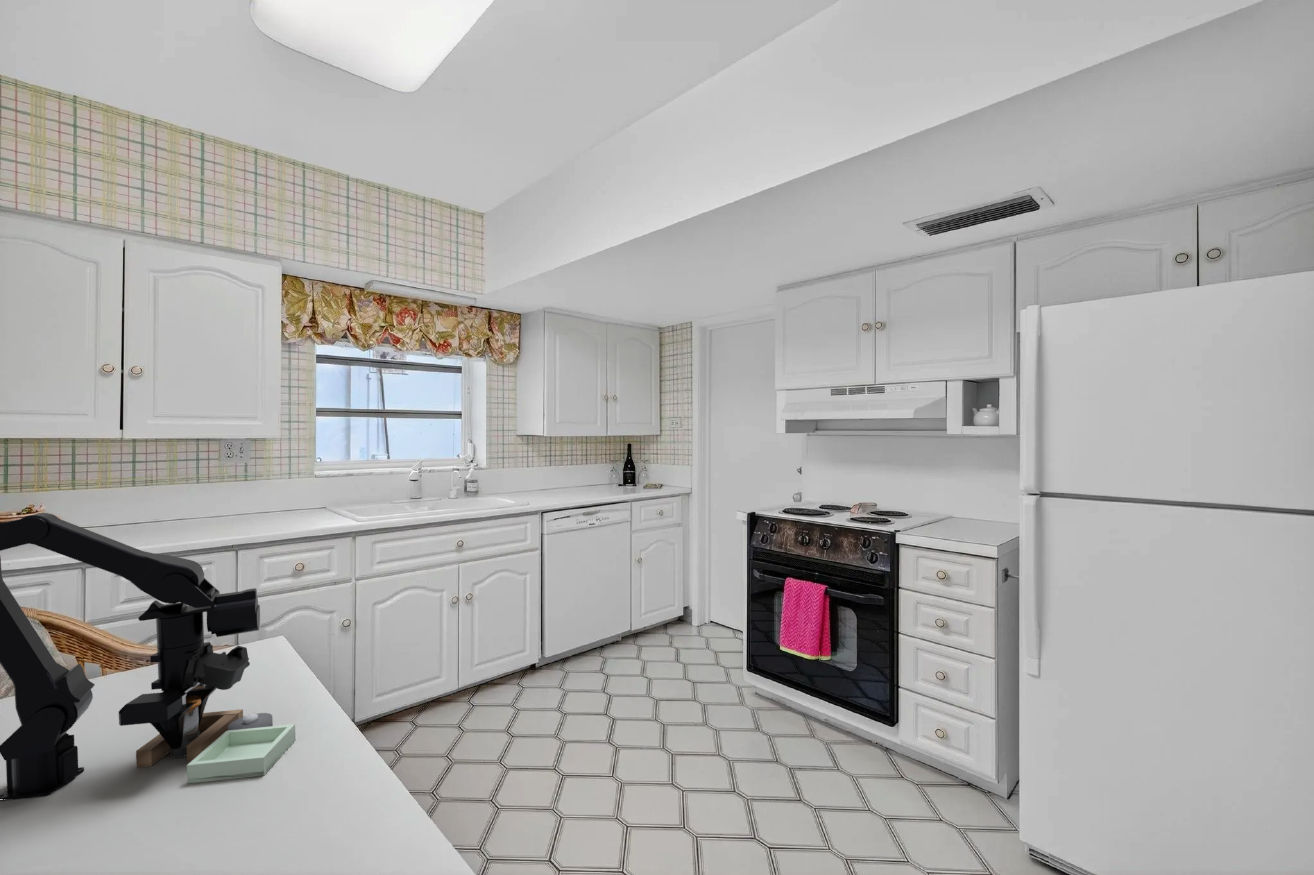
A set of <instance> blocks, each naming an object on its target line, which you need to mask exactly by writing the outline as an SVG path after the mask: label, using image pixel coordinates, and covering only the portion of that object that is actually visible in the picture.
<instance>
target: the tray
mask: <svg viewBox="0 0 1314 875" xmlns="http://www.w3.org/2000/svg"><path fill="white" fill-rule="evenodd" d="M296 738H297V737H296V723H291V724H284V725H273V726H270V727H260V728H249V729H239V730H228V731H226V732H225V733H223V734H222V735H221V736H220V737H219V738H218V739H217V740H215V741H214V742H213V743H212V744H211V745H210V746H208V747H207V748H206V749H205V750H204V751H203V752H202V753H200V754H199V755H198V756H197V757H196V758H195V759H193V760H192V761H191V762H188V764H186V778H187V779H186V780H187V781H186V784H196V783H197V784H198V783H203V782H204V783H207V782H214V781H222V780H223V781H224V780H233V779H242V778H243V779H244V778H252V777H253V778H254V777H260V776H265V775H266V774H267V773H268V771H270V769H271V768H272V767H273V766H274V765H275V764H276V763H277V762H278V760H280V758H282V756H283V755H284V754H285V753H286V752H287V750H288V749H289V748H290V747H291V746H292V745H293V744H294V743H295V741H296Z"/></svg>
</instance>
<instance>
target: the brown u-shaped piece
mask: <svg viewBox="0 0 1314 875" xmlns="http://www.w3.org/2000/svg"><path fill="white" fill-rule="evenodd" d="M242 717H244V709H243V708H242V709H230V710H221V711H219V710H218V711H211V712H203V715H202V719H201V722H200V725H199V733H201V734H199V736H198V737H197V738H196V739H195V740H193V741H192V742H191V743H190V744H188V745H187V756H186V763H190V762H191V761H192V760H193V759H195V758H196V757H197V756H198V755H199V754H200V753H202V752H203V751H204V750H205V749H206V748H207V747H208V746H210V745H211V744H212V743H213V742H214V741H215V740H217V739H218V738H219V737H220V736H221V735H222V734H223V733H225V732H226V731H228V726H229V724H230V723H232V722H233V721H235V720H237V719H239V718H242ZM135 751H136V752H135V756H136V757H135V758H136V759H135V761H136V763H135V764H136V768H145V767H152V766H154V765H155V764H156V763H157V762H159V761H160V760H161V759H163V758H164V757H165V756H166V755H167V754H168V753H169V754H170V746H169V745H168V743H167V742H166V741H165V740H164V738H163V737H162V736H161V735H160V733H159V734H157V735H156V736H154V737H153V738H152V739H151V740H149V741H148V742H146V743H145V744H143V745H142V746H141V747H140V748H138V749H137V750H135Z"/></svg>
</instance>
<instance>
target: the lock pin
mask: <svg viewBox="0 0 1314 875" xmlns="http://www.w3.org/2000/svg"><path fill="white" fill-rule="evenodd" d="M189 703H194V705H193V706H192V707H191V708H190V709H189V710H188V711H187V712H186V713H185V716H184V727H183V738H182V744H181V747H180V748H179V749H172V748H171V747H170V752H169V754H170V757H171V759H172V758H174V759H175V758H176V759H177V758H183V757H187V745H188V744H190V743H191V742H192V741H193V740H195V739H196V738H197V737H198V736H199V735H200V732H199V717H198V706H199V705H200V704H201V697H200V696H187V697H186V704H189Z"/></svg>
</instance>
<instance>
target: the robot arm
mask: <svg viewBox="0 0 1314 875" xmlns="http://www.w3.org/2000/svg"><path fill="white" fill-rule="evenodd" d="M27 544H28V545H29V544H30V545H34V546H38V547H40V548H42V549H46V550H48V551H51V552H53V553H57V554H60V555H62V556H65V557H68V558H70V559H73V560H76V561H79V562H82V563H84V564H87V565H89V566H92V567H95V568H97V569H100V570H103V571H105V572H109V573H111V574H114V575H116V576H119V577H121V578H124V579H125V580H127V581H128V582H130V583H131V584H133V585H134V586H135V587H136V588H138V589H139V590H140V591H141V592H143V593H144V594H147V595H149V596H150V597H152V598H154V599H156V600H153V602H151V604H150V605H149V607H148V608H147V609H146V610H144V612H143V613H141V614H140V615H139V616H138V619H137V620H138V621H140V622H144V621H151V620H155V621H156V622H155V624H156V650H157V652H156V653H153V654H152V655H150V657H149V659H150V664H151V663H152V664H153V663H157V676H158V678H157V679H156V680H154V681H153V682H151V684H150V686H151V688H150V689H151V690H153V691H154V690H161V692H153V693H152V692H151V693H150V692H149V693H141V694H140V695H139V696H137V697H135V698H134V699H132V700H130V701H128V702H127V703H126V704H124V705H123V707H121V709H119V711H118V725H119V726H120V727H123V726H133V725H143V724H144V725H145V724H150V725H152V727H153V728H154V729H155V730H156V731H157V732H158V733H159V734H160V735H161V736H162V737H163V738H164V740H165V741H166V742H167V743H168V745H169V746H170V747H171V748H172V749H179V748H180V747H181V744H182V738H183V727H184V716H185V713H186V712H187V711H188V710H189V709H190V708H191V707H192V706H193V705H194V703H189V704H186V697H187V696H200V697H201V704H200V705H199V706H198V717H199V725H200V722H201V719H202V715H203V713H205V710H206V706H207V703H208V700H209V697H210V696H211V695H212V694H213V693H214V692H215V691H216V690H220V691H221V690H222V691H225V690H226V691H227V690H230V689H232V688H233V686H234V685H236V683H238V682H241V680H242V677H243V674H244V672H245V669H247V668H248V667H249V666H250V664H251V663H250V661H249V659H250V658H249V654H248V649H247V647H245V646H241V645H236V646H235V647H234V648H233V649H231V650H230V651H229V652H226V651H223V652H221V653H217V652H214V650H213V648H214V646H213V644H212V643H211V642H210V641H207V642H205V635H204V634H205V632H204V613H206V628H207V629H206V630H207V632H208V633H209V632H210V633H211V635H215V637H216V638H219V637H225V636H232V635H238V634H244V633H251V632H257V631H260V624H261V605H260V604H259V599H258V590H257V588H248V589H245V590H241V591H234V592H233V591H232V592H226V593H221V592H220V590H219V589H217V588H216V587H215V586H214V585H213V583H211V582H210V581H208V579H207V578H205V572H204V569H203V567H202V566H201V564H200V563H198V562H197V561H195V560H191V559H189V558H185V557H184V558H182V557H178V556H173V555H168V554H160V553H154V552H148V551H144V550H141V549H139V548H136V547H135V546H134V547H133V546H130V545H128V544H125V543H122V542H121V541H118V540H115V539H113V538H110V537H108V536H105V535H102V534H100V533H97V532H94V531H91V530H90V529H87V528H85V527H82V526H79V525H77V524H74V523H71V522H68V521H65V520H63V519H61V518H59V517H58V516H56V515H55V514H54V513H49V512H40V513H39V512H38V513H35V514H31V515H27V516H23V517H22V518H19V519H16V520H10V521H6V522H1V523H0V552H2V551H5V550H8V549H11V548H17V547H20V546H24V545H27ZM1 560H2V559H1V556H0V665H1V667H2V668H3V671H5V673H6V674H7V676H8V677H9V679H10V681H12V682H11V683H12V685H13V687H14V704H15V711H16V713H17V716H18V720H19V722H20V726H19V727H18V728H17V729H16V730H15V731H13V733H12V734H10V736H8V737H7V738H6V740H4V741H3V742H2V743H1V744H0V755H1V757H2V759H3V761H5V768H6V769H5V770H6V775H5V776H6V790H5V791H3V792H2V793H0V799H3V800H2V801H5V800H4V799H12V800H20V799H21V800H22V799H28V798H29V799H30V798H39V797H47V796H50V795H51V794H54V792H56V791H57V790H58V789H60V788H62V787H64V785H66V784H68V783H69V782H71V781H72V780H73V779H75V778H76V777H78V776H79V775H81V774H82V773H84V772H85V767H84V766H81V767H79V751H78V750H79V749H78V746H77V745H75V734H69V733H67V732H68V731H69V730H70V729H71V728H72V727H74V725H75V723H76V722H77V721H78V720H79V719H80V718H81V717H82V715H83V714H85V712H86V711H88V709H89V707H90V705H91V703H92V701H93V697H94V696H93V691H92V689H93V688H94V687H95V685H96V684H95V683H93V682H92V681H90V680H89V679H88V678H87V676H86V674H85V670H84V668H83V666H82V665H81V664H76V665H75V666H73V667H72V668H70V669H68V668H67V667H65V666H63V665H61V664H59V662H57V661H56V660H55V659H54V658H53V655H52V654H51V653H50V651H49V650H48V648H47V647H46V645H45V644H44V642H43V640H42V638H41V637H40V636H39V634H38V632H37V631H36V629H35V628H34V626H33V625H32V623H31V622H30V620H29V618H28V617H27V615H26V613H25V612H24V611H23V609H22V608H21V605H19V603H18V601H17V599H16V598H15V596H14V595H13V594H12V592H11V590H10V588H9V587H8V586H7V584H6V582H5V581H4V579H3V575H2V561H1ZM163 603H165V604H163Z"/></svg>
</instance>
